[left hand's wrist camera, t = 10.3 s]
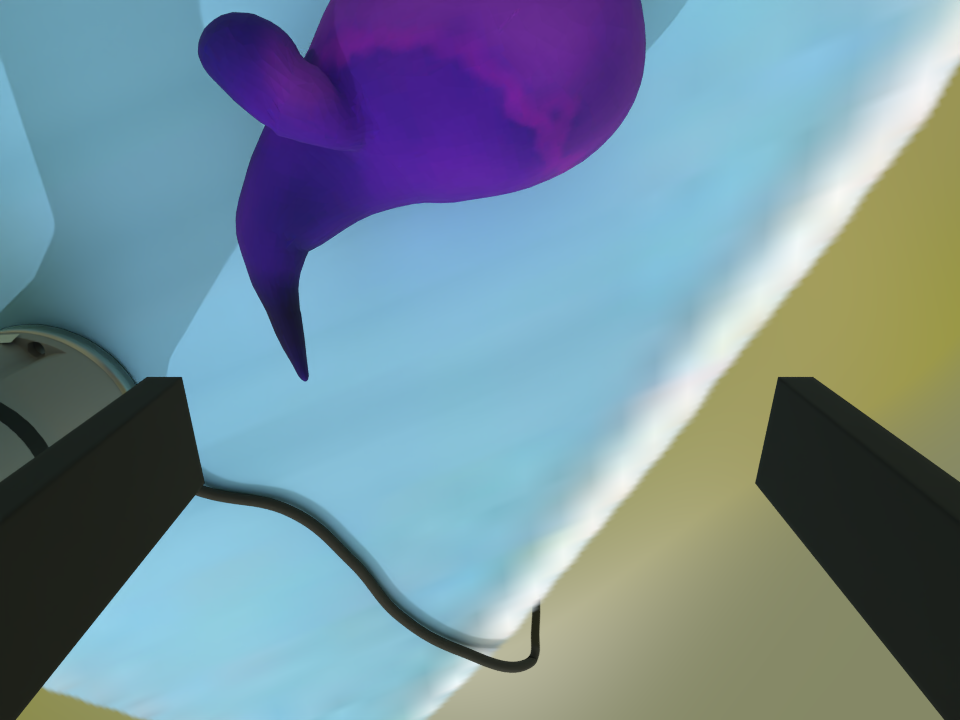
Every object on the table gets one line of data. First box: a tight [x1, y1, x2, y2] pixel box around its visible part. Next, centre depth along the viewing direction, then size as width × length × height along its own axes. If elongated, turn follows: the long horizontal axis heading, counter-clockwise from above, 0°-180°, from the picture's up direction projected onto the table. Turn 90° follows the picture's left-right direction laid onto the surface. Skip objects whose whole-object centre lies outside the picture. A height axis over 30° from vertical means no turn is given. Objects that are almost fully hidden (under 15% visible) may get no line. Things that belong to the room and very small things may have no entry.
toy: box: [198, 0, 646, 381], centre depth 32 cm, size 16×18×27 cm
